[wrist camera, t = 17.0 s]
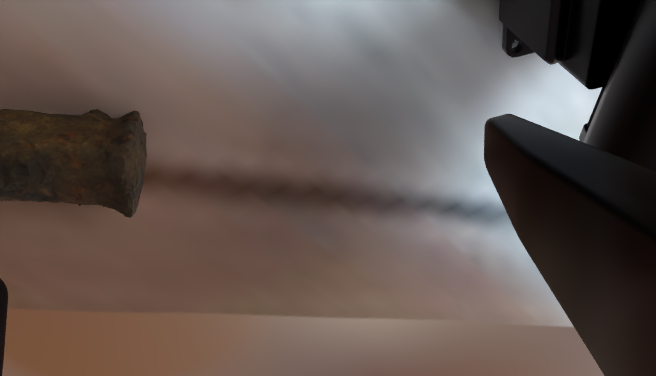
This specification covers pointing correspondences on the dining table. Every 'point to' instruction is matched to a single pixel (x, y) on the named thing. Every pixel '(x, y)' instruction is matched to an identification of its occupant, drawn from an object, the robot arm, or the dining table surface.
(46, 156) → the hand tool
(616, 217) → the robot arm
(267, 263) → the dining table surface
